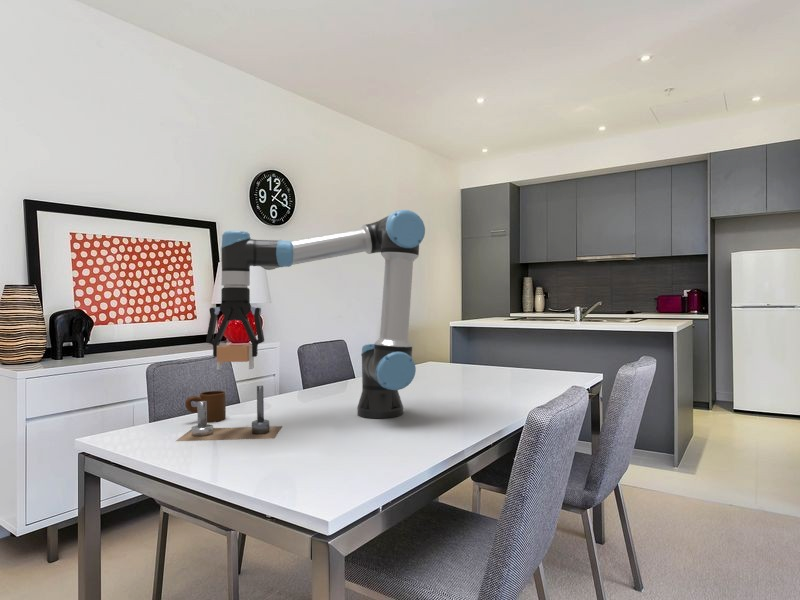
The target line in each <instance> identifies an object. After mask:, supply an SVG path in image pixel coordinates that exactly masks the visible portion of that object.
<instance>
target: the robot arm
mask: <svg viewBox="0 0 800 600" xmlns="http://www.w3.org/2000/svg"><path fill="white" fill-rule="evenodd" d="M425 234H426V227H425V224H424V221H423V219H422V218H421V217H420V215H419V214H418V213H416V212H414V211H413V210H409V209H399V210H395V211H393V212H392V213H390V214H389V215H387V216H386V217H383V218H381V219H378V220H376V221H374V222H372V223H367V224H362V226H361V228H357V229H351V230H345V231H339V232H334V233H328V234H322V235H316V236H310V237H306V238H299V239H293V240H282V239H278V240H277V239H276V240H275V239H253V238H251V233H249V232H248V231H244V230H227V231H224V232H223V234H221V235H222V236H221V249H220V250H221V286H223V287H222V288H221V301H220V306H216V307H210V308H209V309H208V310H209V314H210V317H209V323H208V328H207V333H206V339H205V342H206V343H207V344H209V345H212V356H213V357H214V358H217V347H219V346H222V345H223V344H221V342H222V339H223V336H224V334H225V331H226V330H227V327H228V326H229V323H230V321H240V322H241V324H243V327H244V330H245V331H246V333H247V336H248V338H249V341H250V343H251V345H250V346H249V361H248V370H253V369H254V365H255V363H254V362H255V360H254V359H255V358H256V357H257V356H258V355H259V354H258V345H259V344H262V343H264V342H265V335H264V330H263V325H262V319H261V313H262V308H261V307H253V306H252V305H251V303H250V302H251V301H250V300H251V298H250V297H251V295H250V294H251V293H250V291H251V290H250V288H249V286H250V284H251V282H250V281H251V280H250V279H251V278H250V276H251V275H250V274H251V269H250V267H261V268H263V269H264V270H267V271H272V270H276V269H278V268H288V267H292V266H295V265H300V264H304V263H305V264H306V263H310V262H314V261H321V260H326V259H331V258H337V257H342V256H348V255H354V254H360V253H364V252H365V253H366V254H368V255H371V254H376V253H377V254H378V253H380V255H381V256H382V257H383V258H384V275H383V287H382V302H381V316H380V317H381V318H380V330H379V331H380V332H379V333H380V334H379V338H378V339H377V340H376V341H375V342H374V343H371V344H370V343H368V344H364V345H362V348H361V354H360V355H361V378H362V379H361V381H362V382H361V383H362V386H361V387H362V390H361V395H360V398H359V401H358V405H357V407H356V408H357V409H356V410H357V411H356V413H357V415H358V416H359V417H363V418H369V419H389V418H395V417H399V416H402V415H403V414H404V406H403V405H404V404H403V402H402V400H401V399H402V398H401V395H400V394H399V390H404V389H405V388H407V387H408V386H409V385H410V384H412V381H414V378H415V375H416V369H417V367H416V363H415V360H414V359H413V357H412V356H413V344H412V343H411V342H410V340H409V329H410V328H409V327H410V312H411V311H410V310H411V301H412V299H411V297H412V283H413V270H414V261H416V260H417V259H418V258H419V256H420V255H419V254H420V253H419V252H420V251H419V250H420V245H421V243H422V242H423V240H424V238H425ZM220 312H221V313H222V314H223V318H222V320H221V323H220V325H219V328H218V331H217V332H216V325H217V321H218V315H219V314H220ZM250 312H251V314H252V315H253V319H254V324H255V330H256V335H255V333H254V330H253V328H252V326H251V324H250V320H249V319H248V314H249V313H250ZM215 332H216V335H215ZM214 336H215V337H214ZM256 336H257V337H256ZM221 369H223V362H217V361H216V370H221Z"/></svg>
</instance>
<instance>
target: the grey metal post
mask: <svg viewBox="0 0 800 600" xmlns="http://www.w3.org/2000/svg"><path fill="white" fill-rule="evenodd" d="M196 403H197V404H196V405H197V406H196V407H197V411H198V413H197V425H194V426H192V427H191V429H192V436H194V437H203V436H209V435H212V434H213V428H214V425H212V424H209V423H207V401H199V402H196Z"/></svg>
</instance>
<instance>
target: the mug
mask: <svg viewBox="0 0 800 600" xmlns="http://www.w3.org/2000/svg"><path fill="white" fill-rule="evenodd" d="M226 399H227V398H226V392H225V391H223V390H209V391H203V392H200V393H199V396H198V395H192V396H189V397H188V398H187V399H186V401H185V404H184V405H185V408H186V410H187V411H188V412H190V413H194V414H195V413H197V414H198V411H197V406H193V405H192V402H196V403H197V402H199V401H207V424H209V423H210V424H211V423H218V422H223V421H225V420H226V419H227V418H226V417H227V414H226V412H227V411H226V408H227V407H226Z"/></svg>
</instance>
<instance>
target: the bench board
mask: <svg viewBox="0 0 800 600" xmlns="http://www.w3.org/2000/svg"><path fill="white" fill-rule="evenodd" d="M269 426H270V432H269V433H267V434H262V435H255V434H252V426H243V427H242V426H241V427H240V426H237V427H236V426H235V427H213V434H212V435H209V436H203V437H194V436H192V428H191V429H190V430H188V431H187V432H185V433H184V434H183V435H182V436H180V437H179V438H177V439H176V440H175V442H194V441H197V442H198V441H227V440H228V441H229V440H231V441H232V440H234V441H235V440H259V439H260V440H261V439H262V440H263V439H264V440H267V439H269V440H270V439H275V438H276V437H277V435H278V434H279V433H280V431H281V430H282V428H283V425H279V426H277V425H276V426H274V425H273V426H271V425H269Z"/></svg>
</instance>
